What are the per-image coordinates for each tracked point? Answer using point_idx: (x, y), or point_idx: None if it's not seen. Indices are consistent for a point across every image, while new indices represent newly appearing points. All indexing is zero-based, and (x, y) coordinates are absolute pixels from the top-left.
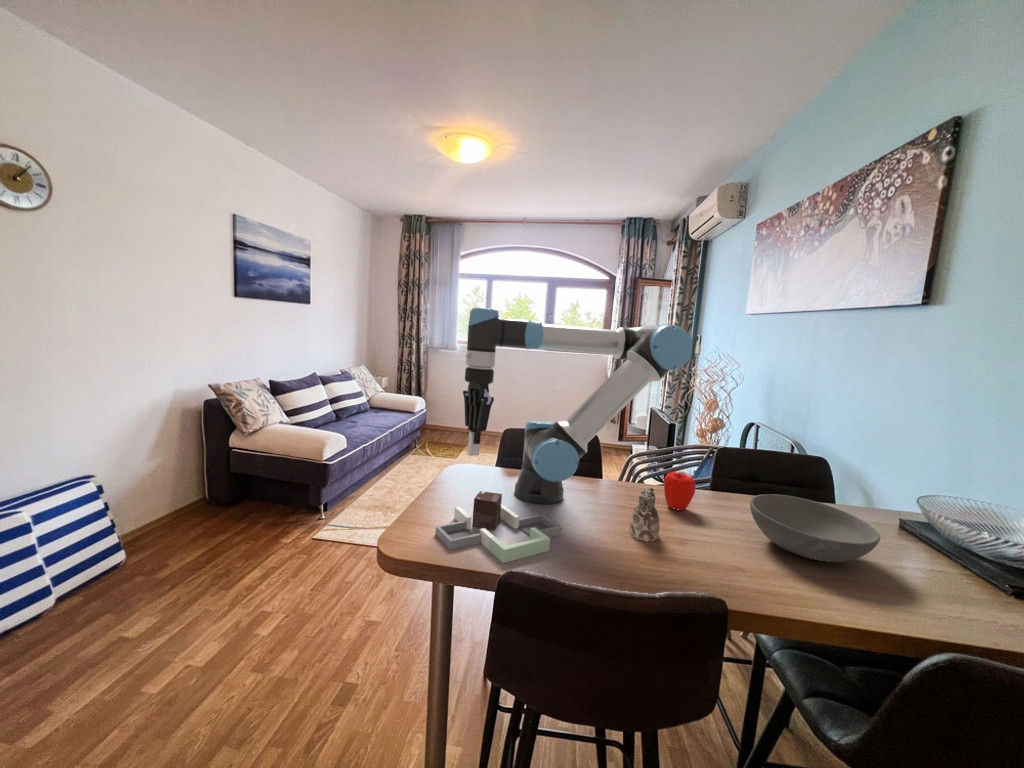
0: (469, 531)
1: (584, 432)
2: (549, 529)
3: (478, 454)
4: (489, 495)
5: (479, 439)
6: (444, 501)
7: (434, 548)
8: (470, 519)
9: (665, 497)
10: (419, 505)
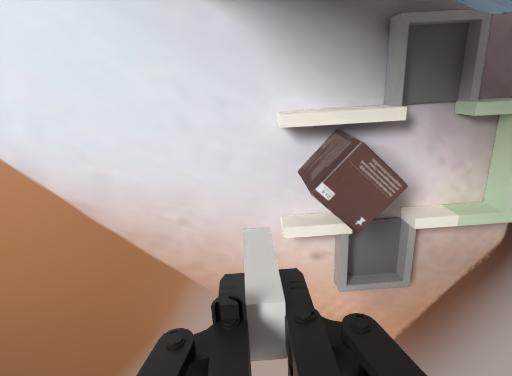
0: None
1: None
2: (485, 54)
3: (269, 231)
4: (356, 184)
5: (305, 289)
6: (177, 213)
7: (381, 296)
8: None
9: None
10: (185, 272)
